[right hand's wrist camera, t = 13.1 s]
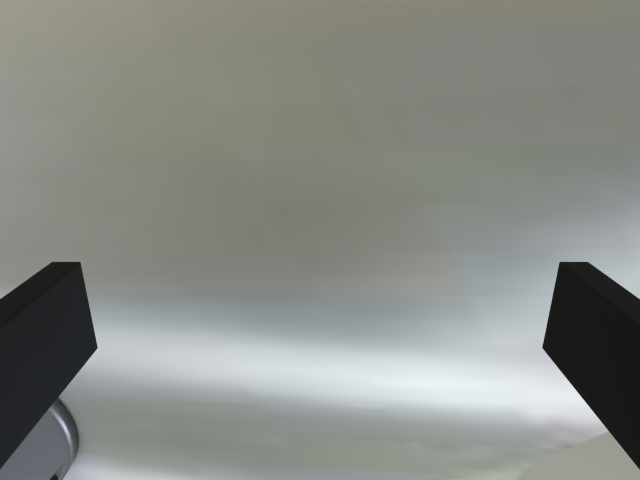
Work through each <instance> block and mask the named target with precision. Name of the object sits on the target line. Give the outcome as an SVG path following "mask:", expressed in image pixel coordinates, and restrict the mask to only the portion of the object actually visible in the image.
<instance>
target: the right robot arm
mask: <svg viewBox="0 0 640 480" xmlns="http://www.w3.org/2000/svg"><path fill="white" fill-rule="evenodd" d="M96 349H97V343H96V338H95V333H94V328H93V323H92V318H91V313H90V308H89V303H88V298H87V293H86V288H85V283H84V278H83V273H82V268H81V263H80V262H52V263H50V264H49V265H47V266H46V267H45V268H43V269H42V270H40V271H39V272H38V273H36V274H35V275H33V276H32V277H31V278H29V279H28V280H27V281H25V282H24V283H22V284H21V285H20V286H18V287H17V288H15V289H14V290H13V291H11V292H10V293H8V294H7V295H6V296H4V297H3V298H1V299H0V480H62V479H63V478H64V476H65V475H66V473H67V471H68V470H69V468H70V467H71V465H72V463H73V462H74V459H75V457H76V454H77V450H78V436H77V431H76V427H75V425H74V422H73V420H72V418H71V416H70V415H69V413H68V411H67V410H66V409H65V407H64V406H63V405H62V404H61V403H60V402H59V400H58V399H57V398H58V397H59V395H60V394H61V393H62V392H63V390H64V389H65V388H66V387H67V385H68V384H69V383H70V382H71V380H72V379H73V378H74V377H75V375H76V374H77V373H78V372H79V370H80V369H81V368H82V367H83V366H84V364H85V363H86V362H87V361H88V359H89V358H90V357H91V356H92V354H93V353H94V352H95V351H96ZM543 349H544V351H545V352H546V353H547V354H548V356H549V357H550V358H551V359H552V361H553V362H554V363H555V364H556V366H557V367H558V368H559V369H560V371H561V372H562V373H563V374H564V375H565V377H566V378H567V379H568V380H569V382H570V383H571V384H572V385H573V387H574V388H575V389H576V390H577V392H578V393H579V394H580V395H581V397H582V398H583V399H584V400H585V402H586V403H587V404H588V405H589V407H590V408H591V409H592V410H593V412H594V413H595V414H596V415H597V417H598V418H599V419H600V420H601V422H602V423H603V424H604V425H605V427H606V428H607V429H608V430H609V432H610V433H611V434H612V435H613V437H614V438H615V439H616V440H617V442H618V443H619V444H620V445H621V447H622V448H623V449H624V450H625V452H626V453H627V454H628V455H629V457H630V458H631V459H632V460H633V462H634V463H635V464H636V465H637V467H638V468H639V469H640V299H639V298H637V297H636V296H634V295H633V294H632V293H630V292H629V291H627V290H626V289H625V288H623V287H622V286H620V285H619V284H618V283H616V282H615V281H613V280H612V279H611V278H609V277H608V276H607V275H605V274H604V273H602V272H601V271H600V270H598V269H597V268H595V267H594V266H593V265H591V264H590V263H588V262H560V263H559V268H558V273H557V278H556V283H555V288H554V293H553V298H552V303H551V308H550V313H549V318H548V323H547V328H546V333H545V338H544V343H543Z"/></svg>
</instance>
